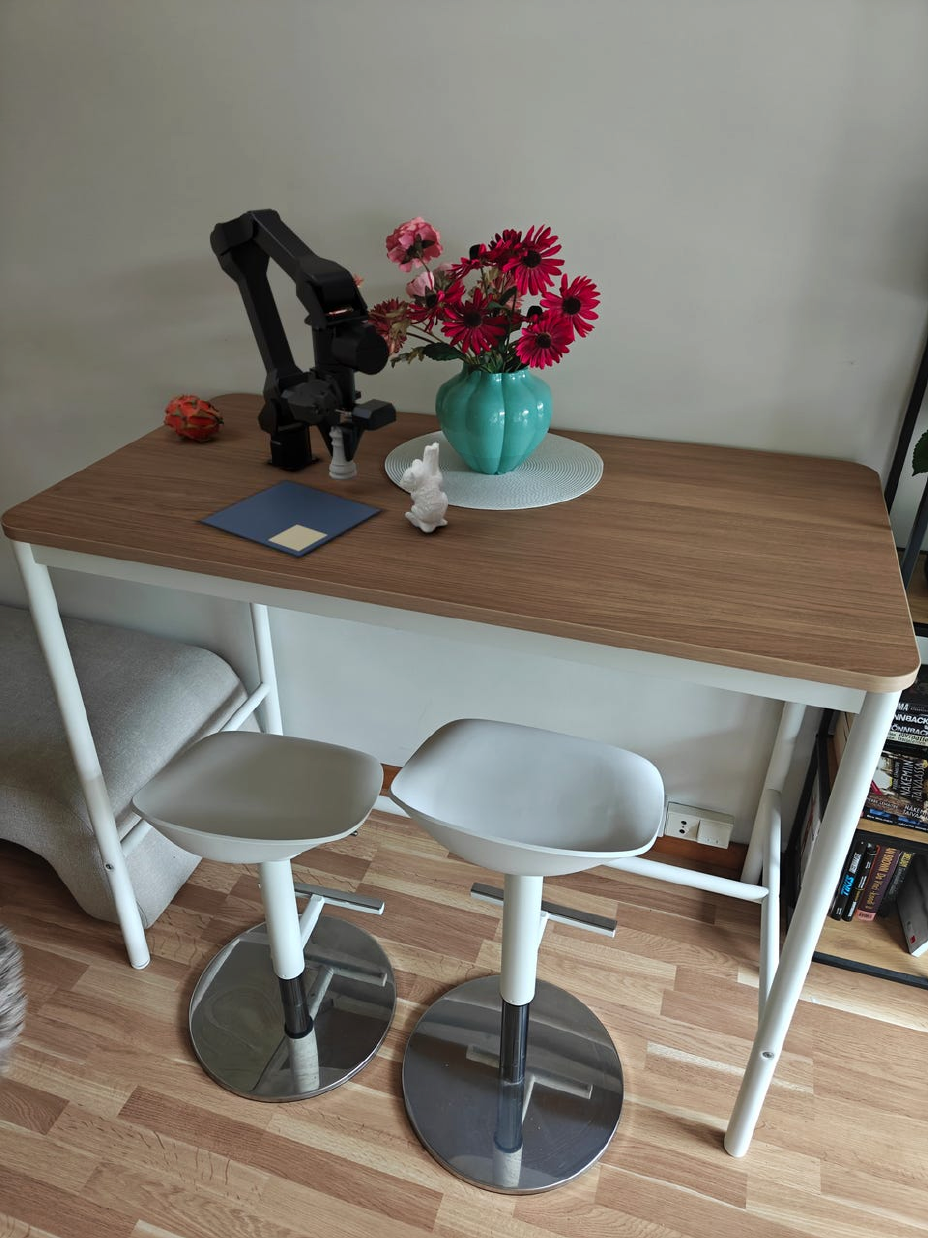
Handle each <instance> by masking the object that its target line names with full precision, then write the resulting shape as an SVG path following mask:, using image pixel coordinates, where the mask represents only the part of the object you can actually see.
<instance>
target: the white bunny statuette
mask: <svg viewBox="0 0 928 1238" xmlns="http://www.w3.org/2000/svg"><path fill="white" fill-rule="evenodd" d="M439 446H440V443H438V442H433V443H432V445H426V446H425V447H424V450H423V451H424V452H423V460H420V459H417V458H416V459H414V460H413V461H412V463H411V466H409V467H408V468H407V469H406V470H405V471H404V473H403V475H402V477H401V480H400V481H399V485H400V487H401V488H404V489H407V490H410V491H411V493H410V498H411V500H412V501H413V502H414V504H413V505H412V506H411V508H410V509H411V511H407V512H405V515H404V516H405V518H406V519H408V520H409V522H410V523H411V524H412V525H413V526H415V527H416V528H417V527H418V528H420V529H421V530H422V532H425V533H432V532H433V531H434V530H435V529H436V527H443V526H446V525H448V521H447V520H445V519H444V517H445V514H446V513H447V509H448V506H449V500H448V499H449V498H448V496H447V495H446V493H445V492H444V491H440V487H441V486H442V485H443V480H444V479H443V475H442V473H441V470H440V469H439V451H440V447H439Z"/></svg>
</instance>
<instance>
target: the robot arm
mask: <svg viewBox="0 0 928 1238" xmlns="http://www.w3.org/2000/svg"><path fill="white" fill-rule="evenodd" d="M209 244H210V248H211V251H212V253H213V254H214V255H215V257H216V259H217V261H218V264H219V266H220V268H221V270H222V272H224V273H225V274H226V275H227V276H228V277H229V278H230V279H231V280H233V282H234V283H236V285H237V287H238V291H239V293H240V296H241V297H240V298H241V301H242V303H243V306H244V308H245V309H244V310H245V312H246V315H247V318H248V321H249V324H250V328H251V329H252V334H253V336H254V339H255V342H256V346H257V349H258V352H259V354H260V357H261V361H262V363H263V367H264V369H265V373H266V376H265V380H264V385H263V389H262V396H263V399H264V405H263V406H262V408H261V410H260V412H259V413H258V415H257V421H258V424H259V427H260V430H261V431H262V432H264V433H266V434H268V435H269V436H270V440H269V447H270V456H271V458H269V459H267V460H266V463H267V464H268V465H271V466H275V467H278V468H280V469H281V468H282V469H284V470H287V471H292V472H295V471H298V470H300V469H303V468H305V467H306V466H309V465H311V464H314V463H315V462H317V461H319V460H320V457H319V455H314V454H313V451H312V441H311V432H310V427H314V426H316V428H317V430H318V432H319V433H320V435H321V437H322V439H323V442H324V444H325V446H326V448H327V450H328V453H329V455H330V457H331V458H333V445H332V441H333V438H332V437H331V436H330V435H329V433H330V432H331V427H332V426H334V428H335V425H336V426H337V427H338V428H339V429H340V430H341V431H342V435H343V444H344V453H345V458H346V461H347V462H350V461H352V460H354V457H355V454H356V452H357V449H358V447H359V444H360V443H361V440H362V437H363V434H364V433H365V431H368V432H374V431H377V430H380V429H381V428H384V427H386V426H388V425H390V424H392V423H395V422H397V409H396V408H397V407H396V406H395V405H394V404H393V403H392V402H389V401H384V400H380V399H376V398H373V399H370V400H367V401H365V402H363V403H357V401H358V400H360V399H362V391H361V390H356V379H355V374H356V373H361V374H364V375H367V376H375V375H377V374H379V373H380V372H382V371H383V370H384V369H385V367H386V366H387V364H388V361H389V359H390V347H389V345H388V342H387V341H386V339H385V337H384V336H382V335H381V334H379V333H377V325H376V324H375V323H372V322H368V321H370V320H371V315H370V313H369V309H368V308H369V306H368V304H367V303H366V301H365V299H364V298H363V295H362V293H361V291H360V289H359V286H358V284H357V282H356V280H355V278H354V277H353V275H352V273H351V272H350V271H349V270H348V269H347V268H346V267H344V266H342V264H339V263H338V262H336V261H334V260H332V259H327V258H324V257H322V256H320V255H317V254H316V253H315V252H314V251H313V250H312V249H311V248H310V247H309V246H308V245H307V244H306V243H305V242H304V241H303V240H302V239H301V238H300V237H299V236H298V235H297V234H296V233H295V232H294V231H293V230H292V229H291V228H290V227H289V226H288V225H287V224H286V223H285V222H284V221H283V220H282V219H281V216H280V213H279V212H278V211H277V210H276V209H272V208H261V209H252V210H247V211H246V212H244V213H242V214H241V215H239V216H238V217H235V218H233V219H230V220H228V221H224V222H223V221H222V222H217V223H215V225H214V227H213V230H212V231H211V232H210V234H209ZM271 259H272V260H273V261H274V262H275V264H277V265H278V266H279V267H280V268H281V270H283V272H284V273H285V274H286V275H287V276H288V277H289V278H290V279H291V280H292V281H293V282H294V285H295V296H296V297H297V300H299V302H300V304H301V305H302V306H303V307H304V309H305V310H306V312H307V316H306V317H305V318H304V320H303V322H304V324H305V325H307V326H310V327H311V338H312V348H313V360H314V366H312V367H309V368H308V370H309V371H303V370H302V369H301V368H300V367H299V366H298V365H297V364H296V362H295V359H294V356H293V353H292V349H291V346H290V343H289V340H288V337H287V334H286V331H285V328H284V324H283V322H282V318H281V315H280V312H279V309H278V306H277V303H276V299H275V297H274V293H273V290H272V287H271V285H270V281H269V278H268V274H267V273H268V269H269V264H270V260H271ZM350 309H351V310H350ZM342 414H343V415H344V417H343V421H341V419H342V418H341V416H342Z"/></svg>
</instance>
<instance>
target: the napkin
mask: <svg viewBox="0 0 928 1238" xmlns="http://www.w3.org/2000/svg"><path fill="white" fill-rule="evenodd" d="M381 512H382V509H380V508H376V507H372V506H369V505H366V504H363V503H360V502H356V501H353V500H351V499H350V500H349V499H347V498H343V497H340V496H337V495H333V494H330V493H327V492H323V491H320V490H317V489H314V488H312V487H307V486H305V485H301V484H298V483H295V482H292V481H288V480H284V481H281V482H280V483H278V484H276V485H273V486H271V487H269V488H267V489H265V490H263V491H261V492H259V493H256V494H254V495H252V496H249V497H248V498H246V499H244V500H242V501H239V502H237V503H235V504H233V505H230V506H229V507H226V508H224V509H222V510H221V511H218V512H216V513H214V514H212V515H210V516H208V517H205V518H204V519H201V520H200V523H201V524H204V525H208V526H210V527H213V528H216V529H219V530H221V531H223V532H224V531H225V532H226V533H230V534H233V535H234V536H237V537H240V538H243V539H247V540H249V541H251V542H254V543H258V544H259V545H263V546H265V547H268V548H271V549H274V550H277V551H280V552H282V553H285V554H288V555H291V556H292V557H293V556H294V557H296V558H301V557H303V556H306V555H307V554H309V553H310V552H312V551H314V550H316V549H317V548H320V547H321V546H322V545H325V544H326V543H328V542H330V541H331V540H334V539H335V538H337V537H338V536H340V535H343V534H344V533H345V532H347V531H349V530H351V529H353V528H355V527H357V526H358V525H360V524H362V523H363V522H365V521H368V520H369V519H370V518H373V517H374V516H376V515H377V514H379V513H381Z"/></svg>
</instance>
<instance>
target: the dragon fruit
mask: <svg viewBox="0 0 928 1238" xmlns="http://www.w3.org/2000/svg"><path fill="white" fill-rule="evenodd" d="M164 412H165V413H166V415H165V417H164V420H163V422H162V423H163V424H164V426H167V427H170V428H172V429H173V430H174V433H175V435H176V436H177V437H178V439H179V440H183V439H185V437H188V438H191V439H193V440H194V441H198V442H207V441H210V440H211V441H212V438H210V437H205V436H206V435H209V434H217V433H220V432H221V428H222V426H221V425H223V426H224V425H225V423H224V421H223V420H224V418H223V416H222V415H223V414H222V413H220V410H218V409H216V408H215V405H214V404H212V403H211V402H209V401H207V400H201V399H200V397H199V396H197V395H194V394H190V395H188V394H186V393H181V394H179V395H178V396H175V397H172V398H171V400H170V402H169V403H168V405H167V406H166V407H165V409H164Z"/></svg>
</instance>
